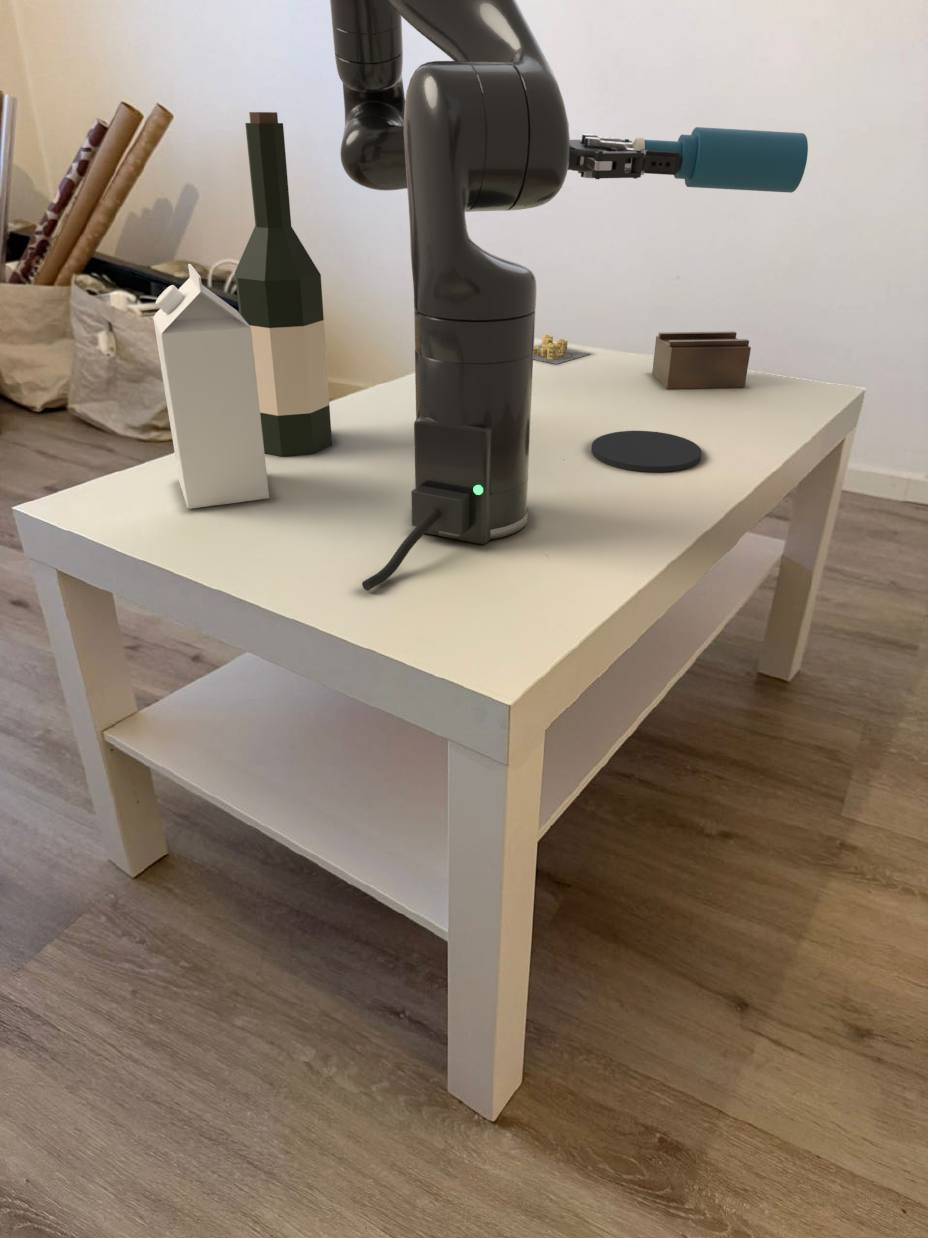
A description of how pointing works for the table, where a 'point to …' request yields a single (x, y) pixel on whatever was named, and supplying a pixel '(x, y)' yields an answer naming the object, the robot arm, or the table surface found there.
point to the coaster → (646, 451)
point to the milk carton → (210, 396)
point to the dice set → (555, 351)
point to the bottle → (737, 158)
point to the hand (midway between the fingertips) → (674, 160)
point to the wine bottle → (282, 306)
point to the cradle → (701, 360)
